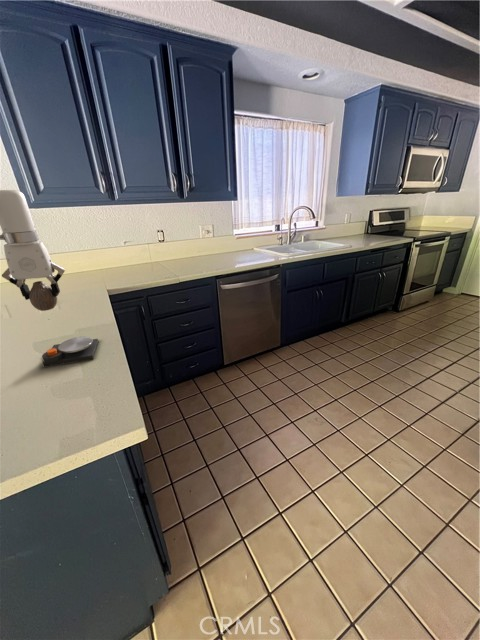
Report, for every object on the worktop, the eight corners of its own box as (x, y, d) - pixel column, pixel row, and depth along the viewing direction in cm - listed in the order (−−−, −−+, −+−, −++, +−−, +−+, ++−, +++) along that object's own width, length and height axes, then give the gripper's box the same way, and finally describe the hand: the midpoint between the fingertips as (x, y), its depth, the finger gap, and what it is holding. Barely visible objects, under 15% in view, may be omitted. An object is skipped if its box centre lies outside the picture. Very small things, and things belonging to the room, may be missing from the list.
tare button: (46, 357, 83) (45, 353, 82) (49, 353, 85) (47, 348, 84) (56, 355, 84) (54, 351, 83) (58, 351, 86) (57, 347, 85)
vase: (31, 314, 81) (21, 286, 77) (36, 306, 86) (26, 280, 83) (58, 310, 83) (49, 283, 79) (61, 303, 89) (52, 277, 85)
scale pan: (54, 355, 83) (54, 353, 83) (63, 340, 92) (62, 339, 91) (89, 349, 86) (89, 348, 86) (94, 336, 95) (94, 334, 94)
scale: (42, 367, 82) (39, 359, 81) (54, 348, 93) (51, 340, 92) (93, 359, 86) (91, 351, 85) (98, 341, 97) (96, 334, 96)
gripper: (-23, 242, 70) (4, 304, 77) (53, 237, 75) (71, 297, 82) (-9, 238, 76) (14, 296, 84) (60, 234, 81) (76, 289, 89)
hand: (42, 296), depth 83 cm, fingers closed on vase, 6 cm apart
